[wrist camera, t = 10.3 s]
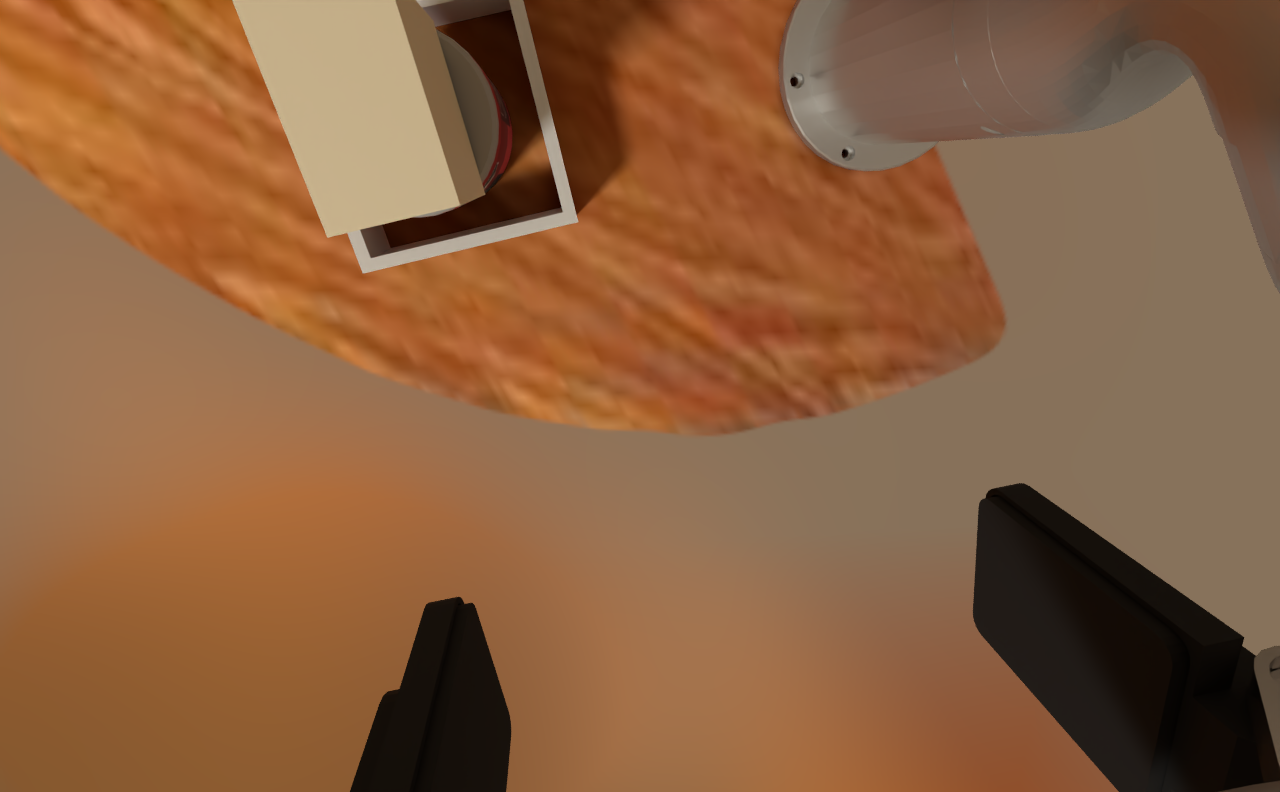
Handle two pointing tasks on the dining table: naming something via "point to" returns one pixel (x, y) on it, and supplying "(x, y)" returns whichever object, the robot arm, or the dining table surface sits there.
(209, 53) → the dining table surface
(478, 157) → the canned food
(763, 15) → the dining table surface
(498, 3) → the box
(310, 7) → the plain beige cuboid
